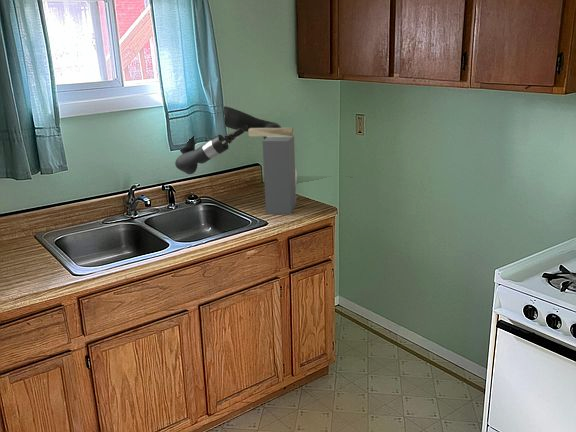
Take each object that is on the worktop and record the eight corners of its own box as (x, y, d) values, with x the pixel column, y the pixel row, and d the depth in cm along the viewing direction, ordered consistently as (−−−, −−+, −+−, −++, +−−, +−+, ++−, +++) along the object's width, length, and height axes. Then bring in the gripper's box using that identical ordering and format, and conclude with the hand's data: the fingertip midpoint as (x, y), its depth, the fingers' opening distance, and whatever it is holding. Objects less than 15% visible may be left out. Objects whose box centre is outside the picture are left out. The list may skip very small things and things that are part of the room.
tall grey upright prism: (272, 204, 269) (269, 134, 259) (296, 205, 267) (293, 134, 257) (265, 214, 256) (262, 140, 246) (290, 214, 254) (288, 140, 244)
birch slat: (250, 134, 260) (250, 128, 259) (293, 134, 256) (293, 127, 255) (248, 136, 256) (248, 129, 255) (291, 136, 252) (291, 129, 252)
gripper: (206, 142, 255) (236, 123, 250) (215, 136, 268) (244, 118, 263) (215, 157, 256) (246, 138, 251) (224, 150, 269) (253, 132, 264)
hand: (245, 128), depth 257 cm, fingers open, 8 cm apart
